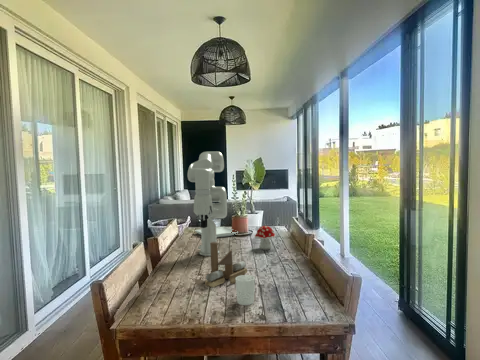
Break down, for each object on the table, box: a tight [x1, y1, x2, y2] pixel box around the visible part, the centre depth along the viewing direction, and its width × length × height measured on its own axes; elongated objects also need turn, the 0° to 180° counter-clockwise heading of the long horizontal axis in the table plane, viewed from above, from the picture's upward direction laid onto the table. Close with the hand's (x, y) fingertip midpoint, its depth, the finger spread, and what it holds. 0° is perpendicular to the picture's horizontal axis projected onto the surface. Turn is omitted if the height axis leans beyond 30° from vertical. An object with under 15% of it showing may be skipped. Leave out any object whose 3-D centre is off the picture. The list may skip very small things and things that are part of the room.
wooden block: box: [210, 241, 234, 280], centre depth 172 cm, size 4×11×18 cm, turn 87°
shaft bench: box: [204, 260, 248, 288], centre depth 171 cm, size 10×26×6 cm, turn 142°
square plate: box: [194, 226, 239, 238], centre depth 277 cm, size 27×27×4 cm
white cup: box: [235, 274, 256, 306], centre depth 143 cm, size 8×8×10 cm
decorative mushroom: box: [254, 225, 276, 251], centre depth 229 cm, size 14×14×15 cm
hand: (204, 227), depth 183 cm, fingers closed
